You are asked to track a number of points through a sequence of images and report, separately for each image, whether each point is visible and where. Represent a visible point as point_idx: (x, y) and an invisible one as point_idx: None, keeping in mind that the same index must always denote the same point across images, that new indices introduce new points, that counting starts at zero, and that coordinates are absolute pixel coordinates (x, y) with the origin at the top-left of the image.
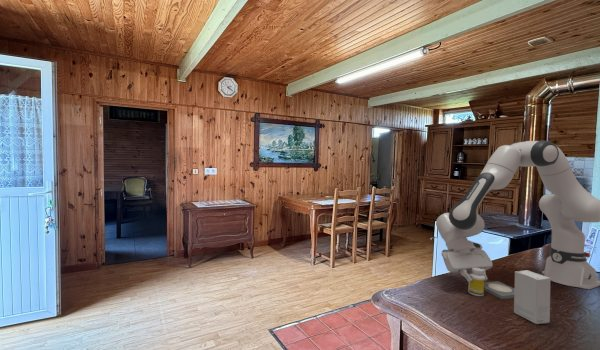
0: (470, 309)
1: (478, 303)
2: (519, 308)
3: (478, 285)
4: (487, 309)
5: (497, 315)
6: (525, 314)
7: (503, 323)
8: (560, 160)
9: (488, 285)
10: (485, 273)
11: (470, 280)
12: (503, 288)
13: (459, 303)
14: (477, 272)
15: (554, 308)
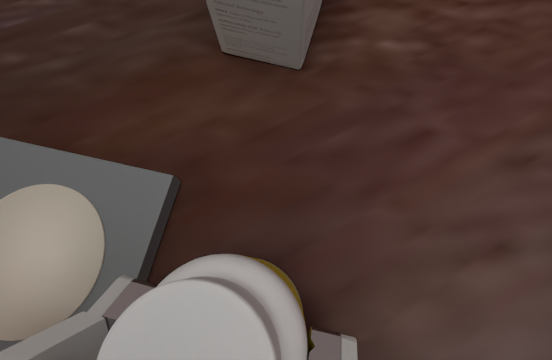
0: (514, 181)
1: (386, 208)
2: (314, 14)
3: (284, 277)
4: (406, 141)
5: (417, 84)
6: (320, 1)
7: (466, 35)
8: None
9: (53, 325)
10: (64, 322)
11: (354, 340)
12: (23, 236)
13: (520, 264)
14: (270, 322)
15: (63, 23)
